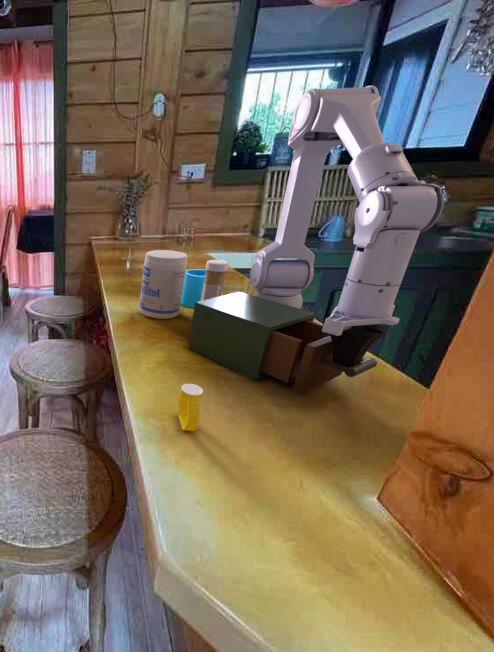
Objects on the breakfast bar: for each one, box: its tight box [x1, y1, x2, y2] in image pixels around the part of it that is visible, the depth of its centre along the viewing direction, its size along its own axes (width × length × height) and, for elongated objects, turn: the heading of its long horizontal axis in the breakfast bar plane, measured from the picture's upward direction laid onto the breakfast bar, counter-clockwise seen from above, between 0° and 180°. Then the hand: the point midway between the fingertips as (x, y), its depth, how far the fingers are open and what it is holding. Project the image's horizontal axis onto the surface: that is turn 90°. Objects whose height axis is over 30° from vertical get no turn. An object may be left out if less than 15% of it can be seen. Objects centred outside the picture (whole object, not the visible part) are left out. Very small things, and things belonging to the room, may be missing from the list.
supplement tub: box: [138, 249, 188, 320], centre depth 90 cm, size 10×10×15 cm
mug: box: [180, 268, 206, 309], centre depth 99 cm, size 12×8×8 cm
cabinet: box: [187, 291, 317, 381], centre depth 69 cm, size 15×13×10 cm
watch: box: [177, 383, 204, 432], centre depth 51 cm, size 6×3×6 cm, turn 171°
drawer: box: [261, 320, 378, 394], centre depth 62 cm, size 18×11×8 cm, turn 28°
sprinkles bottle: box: [201, 259, 230, 301], centre depth 87 cm, size 5×5×14 cm
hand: (342, 369), depth 56 cm, fingers closed, pressing on drawer
